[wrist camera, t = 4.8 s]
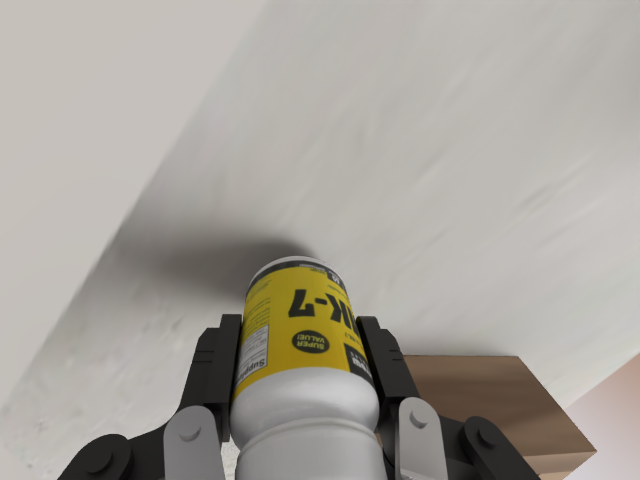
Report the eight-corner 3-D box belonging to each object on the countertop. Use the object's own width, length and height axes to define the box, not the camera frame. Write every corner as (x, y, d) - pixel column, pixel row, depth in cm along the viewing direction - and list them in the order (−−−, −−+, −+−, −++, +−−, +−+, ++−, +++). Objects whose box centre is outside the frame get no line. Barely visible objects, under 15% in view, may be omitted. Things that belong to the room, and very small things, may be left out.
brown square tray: (363, 351, 19) (398, 465, 14) (515, 353, 22) (597, 451, 16) (329, 445, 25) (343, 552, 20) (452, 438, 28) (496, 532, 22)
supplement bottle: (363, 279, 14) (447, 491, 7) (307, 337, 16) (331, 556, 9) (281, 234, 13) (288, 461, 5) (227, 304, 14) (178, 550, 7)
